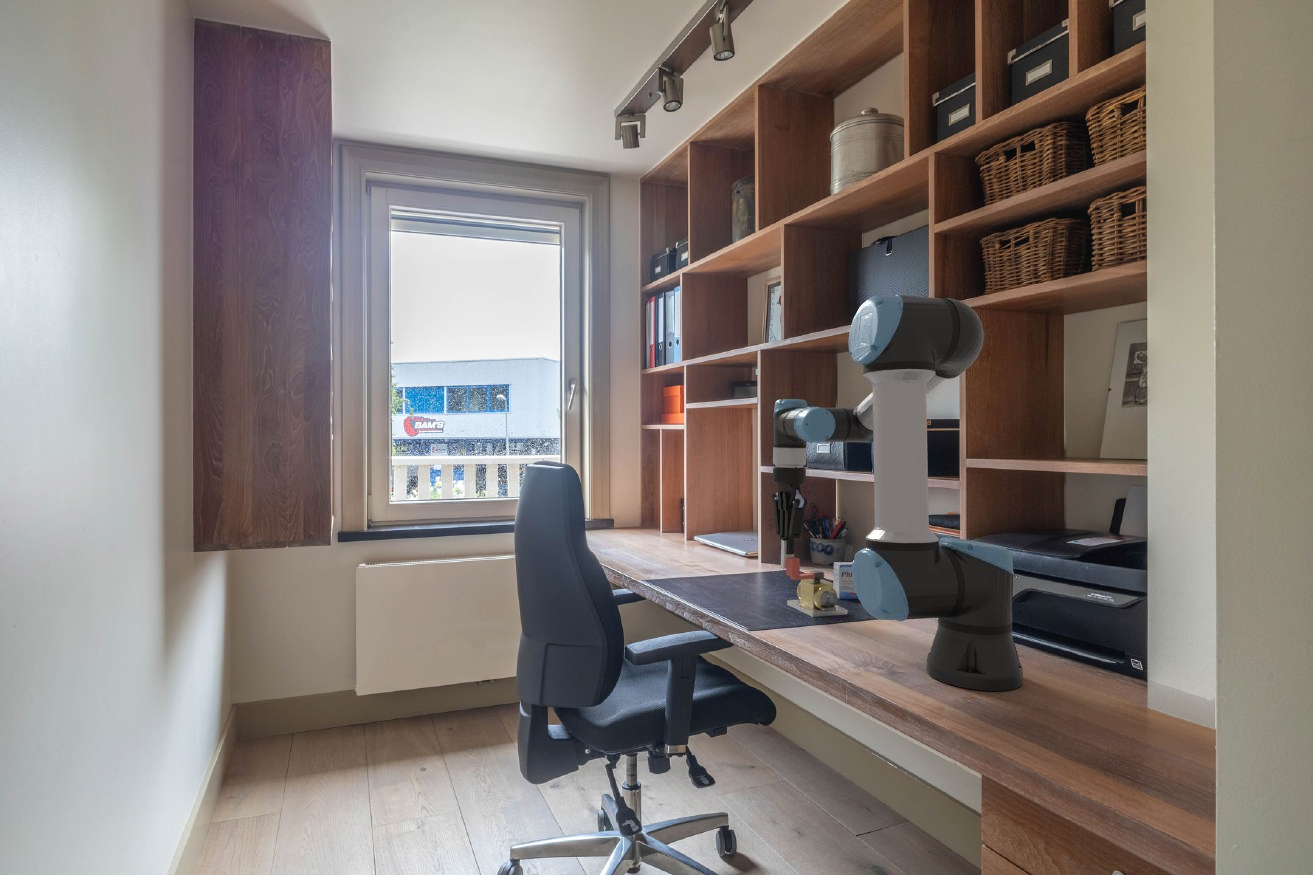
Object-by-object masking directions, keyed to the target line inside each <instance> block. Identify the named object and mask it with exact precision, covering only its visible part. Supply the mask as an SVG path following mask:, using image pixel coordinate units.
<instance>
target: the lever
mask: <svg viewBox="0 0 1313 875" xmlns="http://www.w3.org/2000/svg"><path fill="white" fill-rule="evenodd" d="M785 576H787V577H790V580H793V581H801V580H804V579H816V580H821V579H823V580H825V572H824V571H820V570H810V572H809V573H807V572H806V573H801V559H800V558H799V557H795V556H794V557H791V558H786V568H785Z"/></svg>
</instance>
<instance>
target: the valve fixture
mask: <svg viewBox="0 0 1313 875" xmlns="http://www.w3.org/2000/svg"><path fill="white" fill-rule="evenodd" d="M833 586H834V582H831V581H828V580H825V579H821V580H816V579H804V580H800V582H799V583H798V584H797V587H796V588H797V589H796V596H797V598H798V599H788V600H786V605H787V606H789V607H791V608H794V609H796V610H797V611H799V612H801V613H803V614H805V615H808V616H809V617H812V618H814V617H815V618H817V617H828V616H843V615H848V613H849V612H848V609H846V608H845V607H842V606H840V605H837V603H838V599H839V598H838V596H837V592H836V591H835V589H833Z"/></svg>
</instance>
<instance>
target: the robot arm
mask: <svg viewBox="0 0 1313 875" xmlns="http://www.w3.org/2000/svg"><path fill="white" fill-rule="evenodd" d="M984 339H985V333H984V327H983V323H982V321H981V319H980V316H979V315H978V313H977V312H976V311H975V310H974V309H973V308H972V307H971V306H969V305H968V304H967V303H965V302H963V301H961V300H958V299H954V298H951V297H930V296H929V297H927V296H915V295H902V294H895V293H894V294H888V295H873V296H871V297H869V298H868V299H866V300H865V301H864V302H863V303H862V304H861V305H860V306H859V308H858V310H857V311H856V313H855V315H854V317H853V319H852V322H851V326H850V328H849V335H848V352H849V354H850V355H851V357H850V358H851V360H852V361H853V362H854V363H856V364H858V365H860V366H862V368H863V369H862V371H863V372H862V375H863V376H862V377H863V379H864V380H866V381H867V383H869V384H870V386H871V387H872V392H871V393H870V394H869V395H868V396H866V397H865V398H864V399H863V400H862V402H860V403H858V405H857V406H855V407H821V406H808V403H807V401H806V400H805V399H801V398H799V399H798V398H797V399H795V398H792V399H791V398H790V399H789V398H787V399H786V398H785V399H782V398H781V399H778V400H776V401H775V403H774V410H773V414H772V415H773V450H772V464H773V465H775V466H774V467H772V482H773V483H775V484H778V485H777V488H776V491H777V492H776V493H772V494H771V500H772V503H773V512H774V513H773V514H774V522H775V533H776V535H777V536H779V538H780V540H781V541H780V542H781V548H780V549H781V551H780V568H781V569H783V570H784V569H785V570H786V558H791V557H795V542H796V540H798V539H800V538H801V534H802V527H803V521H804V515H805V510H806V507H807V504H808V499H807V498H803V497H802V488H801V485H803V484H806V480H807V469H806V467H804V466H806V464H807V455H808V452H807V446H808V445H807V443H810V444H813V443H814V444H815V443H816V444H818V443H819V444H820V443H867V444H873V487H874V488H873V490H874V491H873V494H874V495H873V496H874V500H873V501H874V527H873V529H872V530H871V531H870V532H869V533H868V534H867V535H866V536H865V548H862V549H860V550H859V551H857V552H856V553H855V555H854V557H853V558H854V560H852V562H853V563H852V578H853V583H854V588H855V591H856V594H857V596H858V598H859V599H858V600H859V602H860V603H861V604H860V605H862V607H863V609H864V610H865V611H866V612H867V613H868V614H869V615H870V616H872V617H873V618H876V619H878V620H880V621H881V620H882V621H896V622H903V621H906V620H908V621H909V620H924V619H938V620H937V629H936V633H935V634H934V638H933V641H932V644H931V648H930V651H929V652H928V654H927V656H926V672H927V674H928V675H929V676H931V677H932V678H933V679H936V680H937V681H939V682H942V683H945V684H948V685H950V686H956V687H960V688H962V689H963V688H965V689H970V690H976V691H985V692H986V691H989V692H993V691H994V692H1003V691H1011V690H1014V689H1018V688H1020V687H1022V686H1023V683H1024V668H1023V666H1022V664H1021V662H1020V658H1019V654H1018V650H1017V647H1016V643H1015V641H1014V637H1013V595H1014V590H1013V589H1014V588H1013V587H1014V576H1015V572H1014V565H1013V564H1014V563H1013V562H1014V561H1013V555H1012V554H1013V553H1011V551H1010V550H1009V549H1008V548H1006V547H1004V546H1001V545H997V544H992V543H988V542H982V541H976V540H971V539H964V538H963V539H962V538H956V537H955V538H954V537H947V536H945V537H941V538H939V537H938V536H937V535H936V534H935V533H934V532H933V531H931V529H930V525H929V524H930V523H929V521H930V520H929V519H930V518H929V477H928V476H929V474H928V473H929V472H928V471H929V469H928V468H929V467H928V464H929V463H928V461H929V460H928V426H927V425H928V423H927V422H928V420H927V418H928V417H927V413H928V412H927V395H928V394H929V393H930V392H931V391H933V390H934V389H935V388H936V387H938V386H939V385H940V384H941V383H942V382H944V381H945V380H952V379H955V378H957V377H959V376H960V375H961V374H963V373H964V372H965V371H967V370H968V368H970V367H971V366H972V365H973V363H975V361H976V359H978V357H979V355H980V353H981V350H982V349H983V345H984Z"/></svg>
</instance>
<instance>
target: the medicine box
mask: <svg viewBox="0 0 1313 875" xmlns="http://www.w3.org/2000/svg"><path fill="white" fill-rule="evenodd" d="M852 563H853V561H847V562H846V561H841V562H840V561H836V562H835V561H834V562H833V584H834V586H833V589H835V591H836V592H837V596H838V599H839V600H859V598H858V596H857V594H856V591H855V588H854V583H853V578H852Z"/></svg>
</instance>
